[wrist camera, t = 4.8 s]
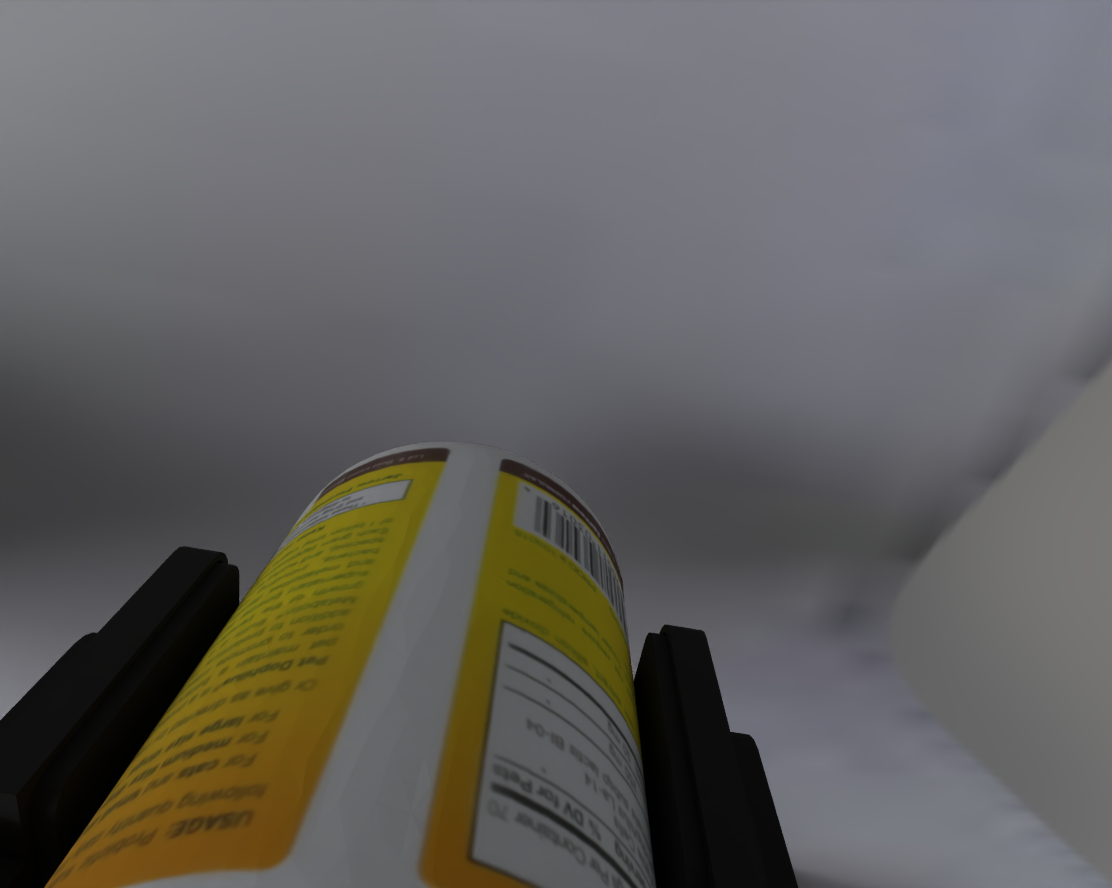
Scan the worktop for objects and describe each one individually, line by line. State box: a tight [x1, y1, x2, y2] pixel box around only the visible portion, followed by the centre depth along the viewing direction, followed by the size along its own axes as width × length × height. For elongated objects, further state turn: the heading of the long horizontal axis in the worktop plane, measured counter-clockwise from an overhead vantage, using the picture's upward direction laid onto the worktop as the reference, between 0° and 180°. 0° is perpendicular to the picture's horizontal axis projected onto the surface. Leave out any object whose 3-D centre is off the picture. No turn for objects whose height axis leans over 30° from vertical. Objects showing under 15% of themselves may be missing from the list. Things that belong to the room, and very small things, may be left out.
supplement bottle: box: [44, 441, 657, 888], centre depth 8 cm, size 6×6×10 cm
